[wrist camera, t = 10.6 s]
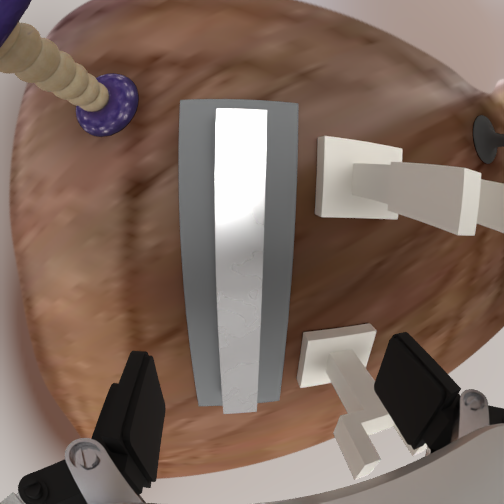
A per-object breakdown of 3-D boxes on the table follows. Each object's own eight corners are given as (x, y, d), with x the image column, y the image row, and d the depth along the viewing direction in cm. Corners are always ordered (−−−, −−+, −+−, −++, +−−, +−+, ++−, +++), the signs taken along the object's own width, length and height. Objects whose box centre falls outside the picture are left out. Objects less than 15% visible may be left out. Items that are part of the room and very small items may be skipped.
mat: (295, 105, 15) (298, 103, 15) (277, 396, 22) (279, 400, 22) (181, 102, 14) (180, 100, 14) (198, 401, 21) (198, 406, 21)
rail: (258, 118, 15) (266, 110, 12) (252, 389, 21) (256, 411, 18) (215, 117, 14) (216, 108, 12) (221, 391, 20) (223, 413, 18)
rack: (392, 148, 17) (530, 157, 6) (357, 368, 23) (418, 459, 12) (317, 137, 16) (457, 115, 5) (296, 378, 22) (342, 490, 11)
